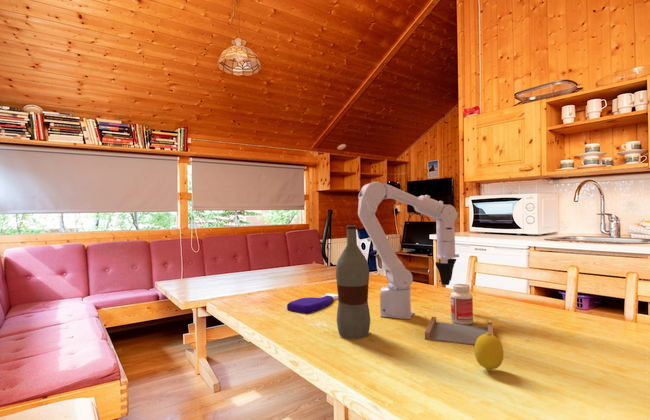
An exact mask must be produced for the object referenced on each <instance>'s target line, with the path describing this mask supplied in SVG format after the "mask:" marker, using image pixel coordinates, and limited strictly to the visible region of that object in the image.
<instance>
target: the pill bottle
mask: <svg viewBox="0 0 650 420" xmlns="http://www.w3.org/2000/svg"><path fill="white" fill-rule="evenodd" d="M452 290H453V291H452V292H451V293H450V320H451V323H452V324H460V325H472V324H473V323H474V302H473V298H474V297H473V294H472V293H471V292H470V284H463V283H462V284H461V283H457V284H453V285H452Z"/></svg>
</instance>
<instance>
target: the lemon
mask: <svg viewBox="0 0 650 420" xmlns="http://www.w3.org/2000/svg"><path fill="white" fill-rule="evenodd" d="M473 349H474V350H473V351H474V357H475V359H476V362H477V363H478V364H479V366H481V367H483V368H484V369H485V370H487V371H488V372H492V371H493V370H496V369H497V368H500V366H501V365H502V364H503V360H504V349H503V345H502V343H501V341H500V340H499V338H498V337H496V336H495V335H494V334H493V335H491V334H490V333H486V334H483V335H481V336H479V337H478V338H477V340H476V343H475V345H474V348H473Z"/></svg>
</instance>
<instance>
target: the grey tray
mask: <svg viewBox="0 0 650 420" xmlns="http://www.w3.org/2000/svg"><path fill="white" fill-rule="evenodd" d="M493 327H494V326H493V322H492V321H487V326H480V325H479V326H478V325H471V324H469V325H460V324H456V323H450V322H439V321H437V316H431V318H430V320H429V322H428V324H427V327H426V329H425V330H424V340H429V341H438V342H444V343H445V342H446V343H452V344H453V343H454V344H463V345H470V346H475V343H476V340H477V338H478V337H479V336H481V335H483V334H486V333H490V334H491V335H494V330H493V329H494V328H493Z"/></svg>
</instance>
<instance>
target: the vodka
mask: <svg viewBox="0 0 650 420" xmlns="http://www.w3.org/2000/svg"><path fill="white" fill-rule="evenodd" d="M357 237H358V236H357V225H352V224H351V225H349V224H348V225H346V246H345V248H344V249H343V251H342V253H341V254H340V255H339V258H338V260H337V261H336V269H335V279H336V289H337V295H338V299H337V300H338V301H337V303H338V304H337V311H336V312H337V313H336V326H337V332H338V334H339V336H340V337H342V338H344V339H350V340H359V339H364V338H367V337H368V336H369V331H370V326H371V316H370V315H371V314H370V313H371V312H370V308H369V302H368V298H369V284H370V283H369V282H370V281H369V280H370V268H369V264H368V259H366V257H365V255H364V254H363V252H362V250H361V248H359V245H357V244H358V241H357Z"/></svg>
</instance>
